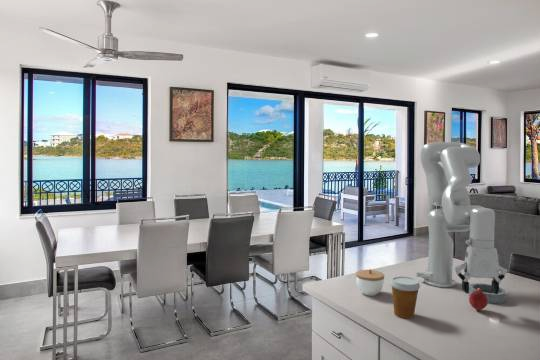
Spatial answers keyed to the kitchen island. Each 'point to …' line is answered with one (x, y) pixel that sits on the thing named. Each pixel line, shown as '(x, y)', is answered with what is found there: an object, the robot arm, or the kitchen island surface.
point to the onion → (478, 299)
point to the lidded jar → (369, 281)
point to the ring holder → (489, 293)
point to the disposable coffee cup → (404, 296)
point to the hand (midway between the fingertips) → (480, 292)
